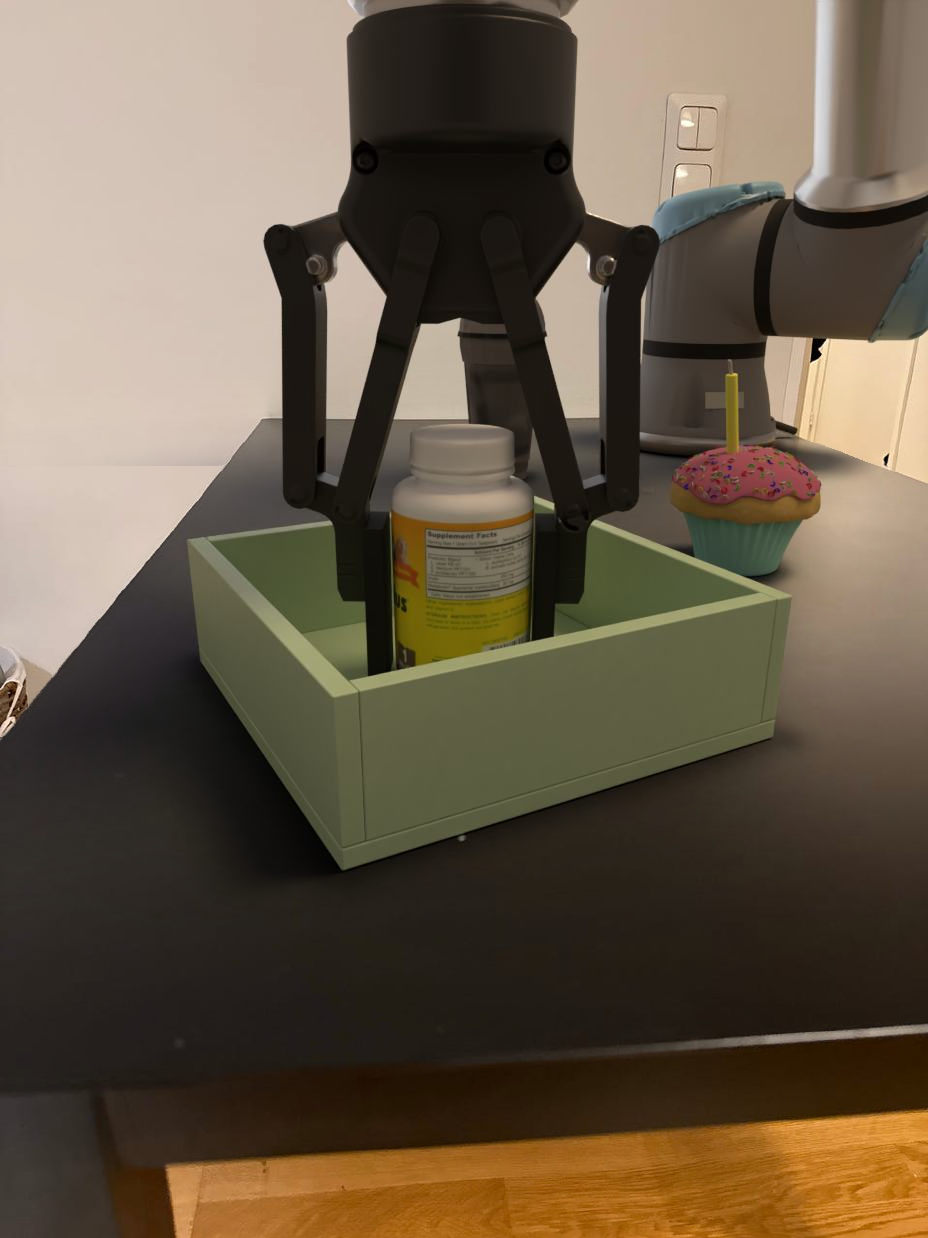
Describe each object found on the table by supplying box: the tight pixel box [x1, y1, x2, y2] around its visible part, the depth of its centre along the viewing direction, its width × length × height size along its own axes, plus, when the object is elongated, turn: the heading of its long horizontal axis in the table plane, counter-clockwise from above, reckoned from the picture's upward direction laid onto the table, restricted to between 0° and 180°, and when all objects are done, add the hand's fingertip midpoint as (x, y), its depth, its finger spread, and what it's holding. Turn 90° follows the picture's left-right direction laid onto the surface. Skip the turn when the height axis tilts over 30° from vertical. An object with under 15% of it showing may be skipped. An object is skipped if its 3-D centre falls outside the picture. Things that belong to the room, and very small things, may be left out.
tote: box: [186, 495, 793, 871], centre depth 38 cm, size 18×18×6 cm
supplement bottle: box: [390, 423, 535, 670], centre depth 36 cm, size 6×6×10 cm
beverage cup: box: [456, 297, 548, 481], centre depth 75 cm, size 7×7×20 cm
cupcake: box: [669, 360, 822, 577], centre depth 53 cm, size 9×8×12 cm
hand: (460, 672), depth 38 cm, fingers open, 6 cm apart
